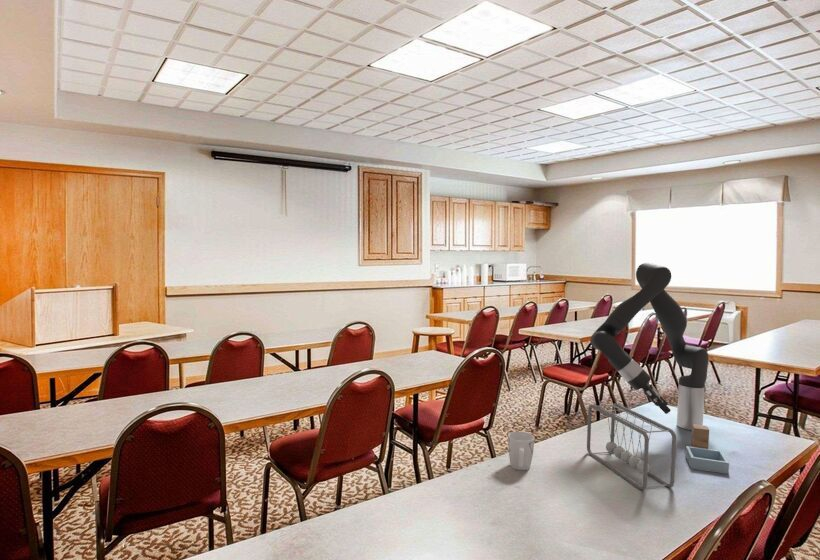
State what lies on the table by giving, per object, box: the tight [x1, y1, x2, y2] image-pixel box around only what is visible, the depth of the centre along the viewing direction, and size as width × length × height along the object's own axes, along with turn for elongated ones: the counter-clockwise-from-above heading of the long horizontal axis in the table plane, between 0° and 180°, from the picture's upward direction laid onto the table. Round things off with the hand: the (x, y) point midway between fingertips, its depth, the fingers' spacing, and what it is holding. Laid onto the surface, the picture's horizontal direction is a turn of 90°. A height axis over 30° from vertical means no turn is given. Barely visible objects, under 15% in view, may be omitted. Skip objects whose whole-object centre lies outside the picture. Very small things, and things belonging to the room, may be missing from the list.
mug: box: [507, 431, 535, 471], centre depth 158 cm, size 11×8×10 cm
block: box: [690, 424, 710, 449], centre depth 175 cm, size 4×4×9 cm
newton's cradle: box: [586, 402, 677, 491], centre depth 158 cm, size 30×10×18 cm, turn 13°
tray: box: [685, 445, 730, 475], centre depth 164 cm, size 11×11×4 cm
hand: (667, 408), depth 178 cm, fingers open, 8 cm apart
